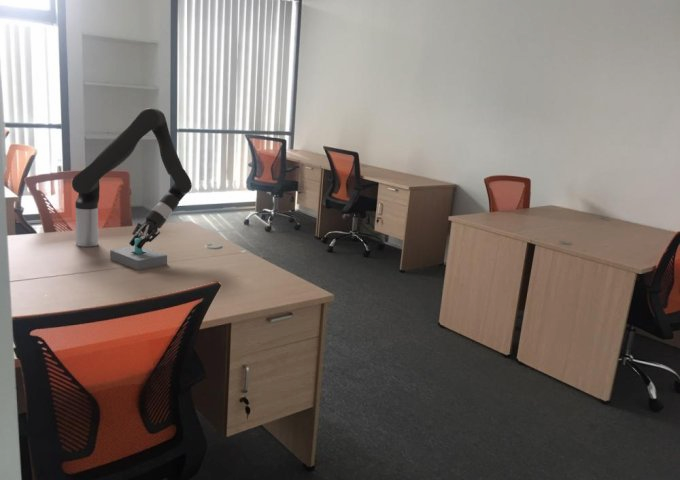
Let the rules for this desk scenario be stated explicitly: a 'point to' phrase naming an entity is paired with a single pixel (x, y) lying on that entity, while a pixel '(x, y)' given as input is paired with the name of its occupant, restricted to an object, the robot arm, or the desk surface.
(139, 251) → the peg
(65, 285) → the desk surface
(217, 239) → the desk surface
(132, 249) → the hole block
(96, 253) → the desk surface
